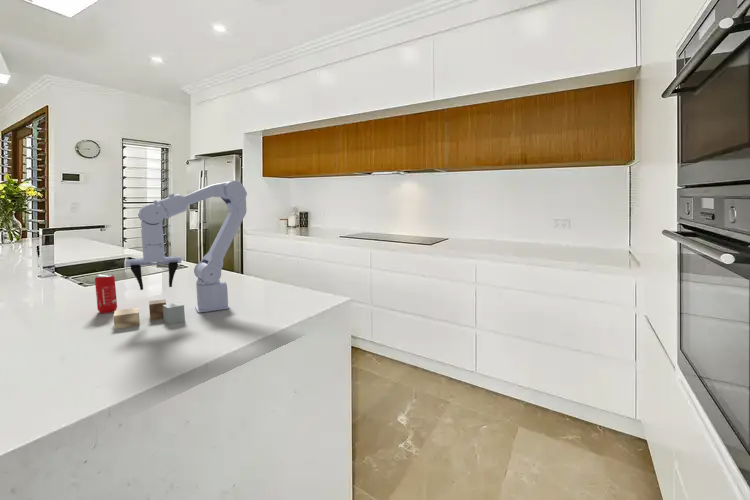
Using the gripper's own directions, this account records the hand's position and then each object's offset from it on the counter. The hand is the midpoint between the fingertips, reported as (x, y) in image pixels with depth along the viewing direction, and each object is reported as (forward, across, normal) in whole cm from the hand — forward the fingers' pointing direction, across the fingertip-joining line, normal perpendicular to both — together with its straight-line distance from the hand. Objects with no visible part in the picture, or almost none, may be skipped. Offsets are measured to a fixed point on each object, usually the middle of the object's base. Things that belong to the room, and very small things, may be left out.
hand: (156, 287), depth 116 cm
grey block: (+10, -4, +6) cm, 12 cm away
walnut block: (+10, 0, 0) cm, 10 cm away
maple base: (+10, +8, +3) cm, 13 cm away
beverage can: (+10, +14, -15) cm, 23 cm away
